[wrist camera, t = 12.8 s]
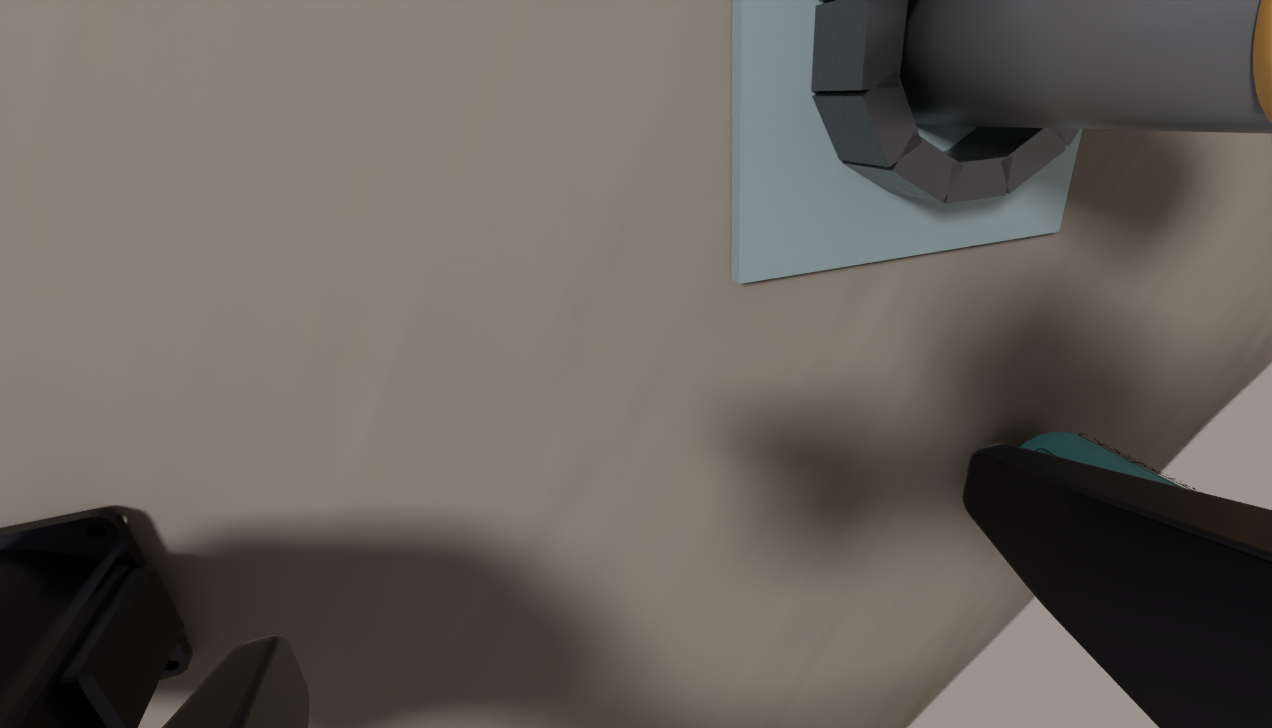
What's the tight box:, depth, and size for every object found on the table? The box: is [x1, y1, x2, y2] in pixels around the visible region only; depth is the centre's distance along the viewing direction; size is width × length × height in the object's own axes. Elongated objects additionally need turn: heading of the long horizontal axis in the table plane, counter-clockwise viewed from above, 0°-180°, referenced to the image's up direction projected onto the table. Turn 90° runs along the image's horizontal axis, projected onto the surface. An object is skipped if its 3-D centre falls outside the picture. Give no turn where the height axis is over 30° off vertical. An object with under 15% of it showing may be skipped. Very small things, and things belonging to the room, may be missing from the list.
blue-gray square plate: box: [731, 0, 1083, 284], centre depth 20 cm, size 14×14×1 cm
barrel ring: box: [811, 0, 1080, 204], centre depth 18 cm, size 9×9×2 cm
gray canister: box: [900, 0, 1272, 133], centre depth 14 cm, size 5×5×13 cm
